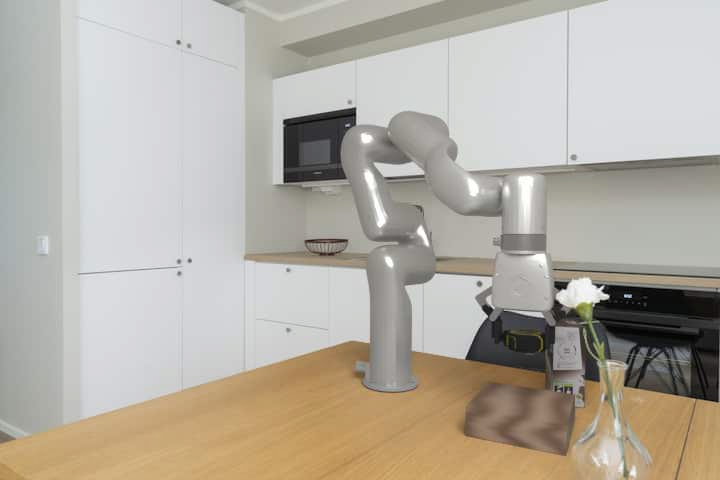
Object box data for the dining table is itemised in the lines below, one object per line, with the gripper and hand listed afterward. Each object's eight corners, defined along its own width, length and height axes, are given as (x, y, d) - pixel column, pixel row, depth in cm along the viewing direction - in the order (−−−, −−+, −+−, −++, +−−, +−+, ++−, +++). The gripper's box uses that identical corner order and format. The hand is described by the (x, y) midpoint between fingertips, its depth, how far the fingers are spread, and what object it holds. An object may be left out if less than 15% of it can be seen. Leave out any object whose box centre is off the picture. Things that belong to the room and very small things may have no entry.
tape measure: (538, 348, 92) (539, 328, 92) (552, 357, 85) (552, 335, 85) (501, 348, 92) (501, 327, 92) (511, 357, 85) (511, 335, 85)
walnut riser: (465, 435, 86) (465, 406, 86) (487, 406, 100) (488, 381, 100) (565, 455, 79) (566, 424, 78) (574, 421, 93) (575, 394, 93)
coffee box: (585, 408, 100) (587, 327, 99) (551, 405, 101) (552, 325, 101) (575, 393, 109) (577, 319, 108) (544, 391, 110) (545, 317, 110)
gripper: (468, 244, 88) (467, 344, 89) (575, 246, 80) (574, 355, 81) (479, 243, 95) (478, 336, 95) (579, 245, 87) (578, 346, 87)
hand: (522, 344), depth 88 cm, fingers closed on tape measure, 7 cm apart
